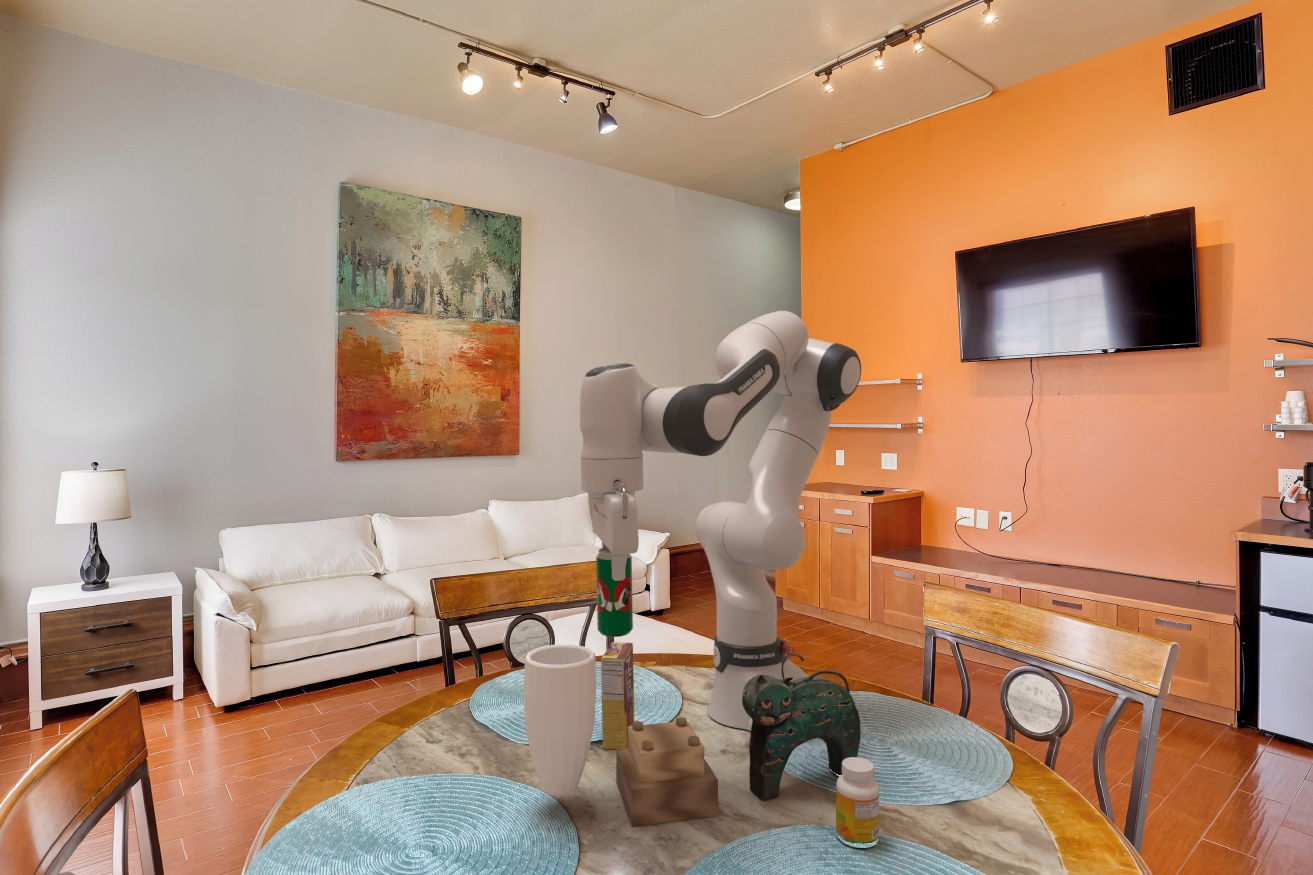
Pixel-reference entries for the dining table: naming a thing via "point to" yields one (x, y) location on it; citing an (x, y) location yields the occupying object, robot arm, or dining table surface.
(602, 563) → the soda can
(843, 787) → the supplement bottle
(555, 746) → the cup
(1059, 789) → the dining table surface
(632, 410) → the robot arm
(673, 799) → the tower base
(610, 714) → the candy box
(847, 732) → the ceramic cat
